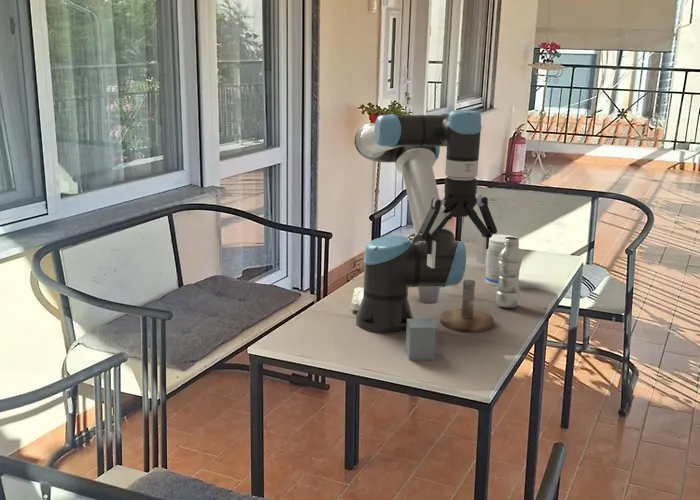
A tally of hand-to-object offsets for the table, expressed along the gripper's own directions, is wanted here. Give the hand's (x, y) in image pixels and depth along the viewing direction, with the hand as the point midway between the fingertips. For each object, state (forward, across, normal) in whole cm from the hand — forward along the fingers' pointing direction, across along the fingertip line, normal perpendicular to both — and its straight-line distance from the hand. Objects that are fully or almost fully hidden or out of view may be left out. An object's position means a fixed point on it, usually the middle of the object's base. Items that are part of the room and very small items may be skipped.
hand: (455, 264), depth 190 cm
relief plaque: (+21, -7, +35) cm, 42 cm away
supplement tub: (+21, +38, +40) cm, 59 cm away
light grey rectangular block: (+20, -11, -4) cm, 23 cm away
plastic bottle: (+21, +28, +20) cm, 40 cm away
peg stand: (+20, +11, +12) cm, 26 cm away
